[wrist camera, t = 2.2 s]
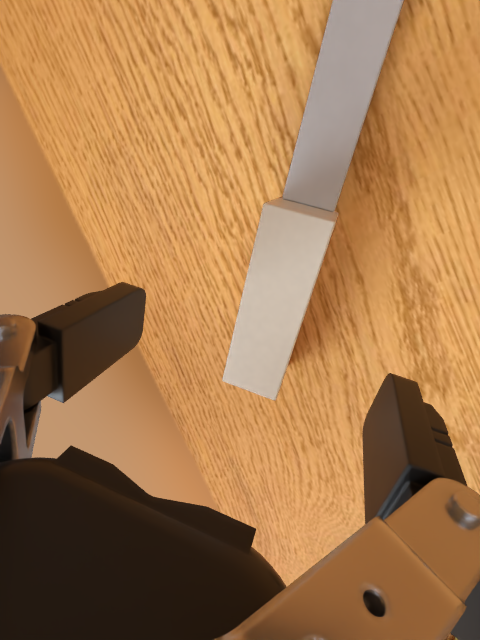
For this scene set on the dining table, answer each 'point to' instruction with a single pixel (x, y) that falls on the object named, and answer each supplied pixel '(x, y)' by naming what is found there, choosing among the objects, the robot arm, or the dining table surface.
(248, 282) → the knife
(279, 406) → the dining table surface
